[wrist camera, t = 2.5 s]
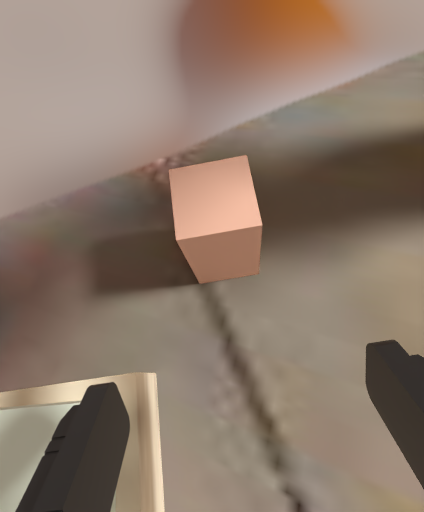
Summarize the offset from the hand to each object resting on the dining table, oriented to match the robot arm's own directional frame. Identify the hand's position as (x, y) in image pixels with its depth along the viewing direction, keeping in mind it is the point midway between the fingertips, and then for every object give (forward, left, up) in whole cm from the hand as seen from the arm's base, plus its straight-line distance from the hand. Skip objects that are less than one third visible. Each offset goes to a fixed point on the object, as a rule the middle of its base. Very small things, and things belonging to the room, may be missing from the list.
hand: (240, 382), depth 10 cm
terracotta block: (0, -10, -14) cm, 18 cm away
